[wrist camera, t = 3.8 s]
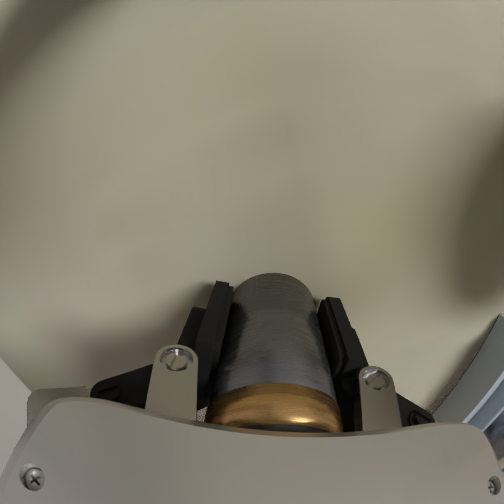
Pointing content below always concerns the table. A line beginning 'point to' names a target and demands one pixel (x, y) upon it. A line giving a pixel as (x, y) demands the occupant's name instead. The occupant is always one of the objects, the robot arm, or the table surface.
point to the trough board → (479, 386)
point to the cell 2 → (497, 438)
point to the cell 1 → (274, 362)
